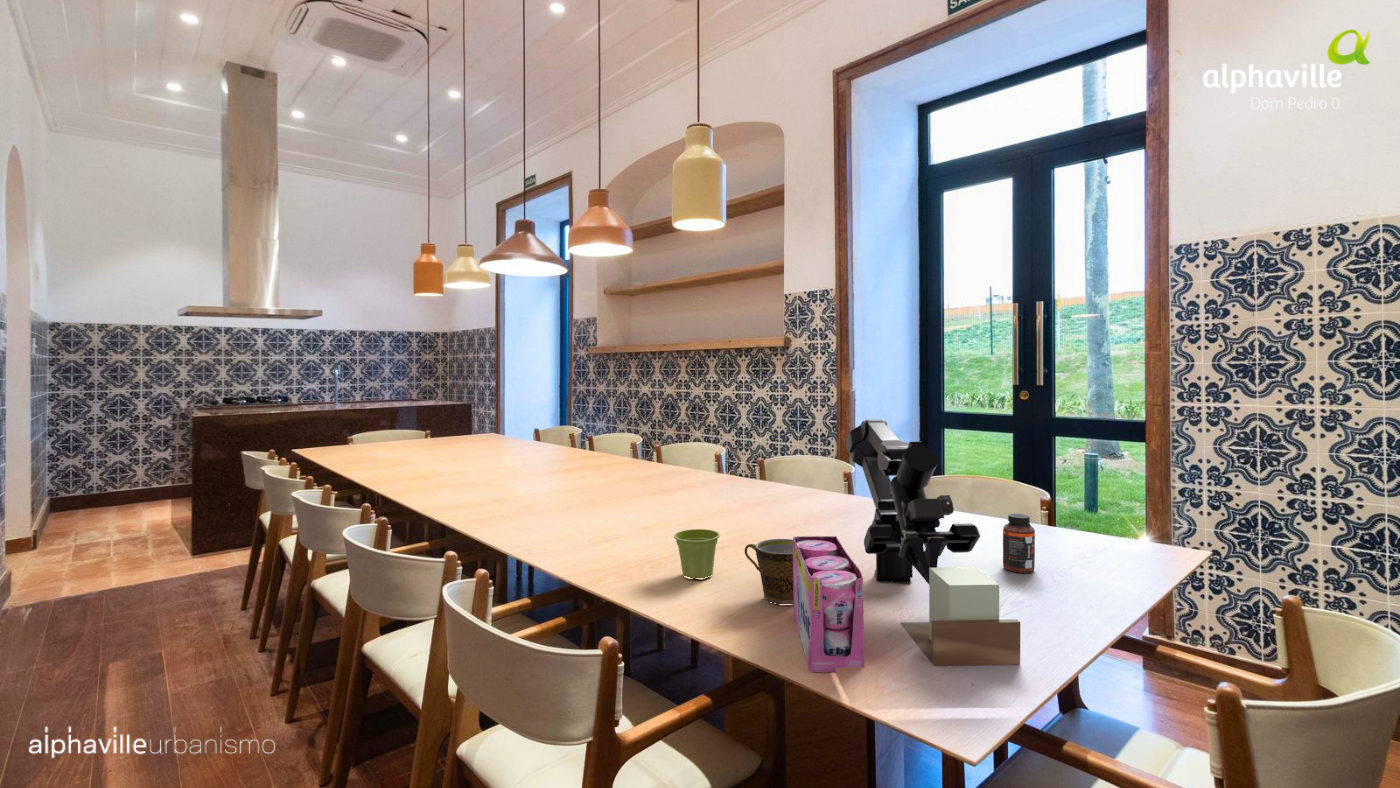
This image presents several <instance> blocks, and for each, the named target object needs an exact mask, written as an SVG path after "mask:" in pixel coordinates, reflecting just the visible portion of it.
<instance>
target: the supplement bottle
mask: <svg viewBox="0 0 1400 788" xmlns="http://www.w3.org/2000/svg"><path fill="white" fill-rule="evenodd" d="M1007 518H1008V519H1007V522H1008V523H1006V524H1005V525H1004V526H1003V528H1002V567H1003V568H1004V569H1005V570H1007V571H1008V572H1009V571H1010V572H1013V573H1021V574H1029V572H1030V573H1032V572H1034V571H1035V567H1036V565H1035V564H1036V560H1035V557H1036V556H1035V555H1036V553H1035V552H1036V546H1035V545H1036V533H1035V532H1036V530H1035V529H1034V527H1033V526H1032V525H1031V517H1030V516H1029V515H1027V514H1022V513H1009V514H1008V515H1007Z"/></svg>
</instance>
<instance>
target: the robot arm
mask: <svg viewBox="0 0 1400 788" xmlns="http://www.w3.org/2000/svg"><path fill="white" fill-rule="evenodd" d="M845 445H846V446H845V447H846V451H847V453H849V456H850V459H851V460H852V462H854V463H855V464H856V465H858V466H860V467H861V468H862V471H863V475H864V476H865V479H866V482H867V486H868V488H869V491H870V494H871V499H872V501H873V503H874V507H875V511H874V516H873V520H872V521H871V522H872V523H871V524H870V525H869V526H868V527H867V530H866V533H865V536H864V539H863V546H864V550H865V553H866V554H868V555H871V554H872V555H874V554H875V570H874V574H875V579H876V582H878V583H879V582H880V583H895V584H896V583H897V584H898V583H899V584H911V583H912V578H913V567H914V569H915V570H916V571H917V572H918V573H919V574H920V576H921V577H922V579H924V580H925V583H927V584H928V585H929V568H938V561H939V557H940V556H941V555H942V554H943V552H944V550H945V548H946V549H947V550H948V551H950V552H952V553H953V554H954V553H958V554H959V553H970V552H971V551H972V550H973V549H974V547H975V546H976V544H977V542H978V541H979V540H980V538H981V533H980V531H979V528H978V526H976V524H974V523H971V522H970V523H952V525H951V526H950V528H949V530H948V531H937V530H936V528H939V527H940V525H941V521H940V520H941V519H944V518H945V516H950V515H951V514H953V513H954V510H955V509H954V503H953V500H952V498H951V495H950V494H944V495H943V494H940V495H939V496H937V497H936V498H928V497H927V495H926V492H925V488H926V487H927V486H928V485H929V484H930V481H931V479H932V477H933V475H934V472H935V470H936V467H937V466H938V462H939V461H938V460H939V459H938V456H937V454H936V453H935V452H934V451H933V450H931V449H930V448H928V447H926V446H924V445H923V444H922V441H920V440H919V441H918V440H917V441H916V440H915V441H914V440H913V441H911V440H910V441H909V442H907V441H903V440H900V439H899V438H898V437H897V435H895V433H894V432H893V431H892V430H891V429H890V427H888V422H887V420H883V419H865V420H862V421H861V423H860V425H858V426H855V428H853V429H852V430H850V431H849V433H848V435H847V437H846V442H845ZM890 476H891V477H893V478H892V479H891V478H890ZM924 549H925V550H924Z"/></svg>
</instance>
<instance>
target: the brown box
mask: <svg viewBox="0 0 1400 788" xmlns="http://www.w3.org/2000/svg"><path fill="white" fill-rule="evenodd" d="M900 625H901V626H902V627H903V628H904V630H905V631H906V632H907V634H908V635H909V636H910V637H911V638H912V640H913V641H914V642H915V643H916V645H917V646H918V647H919V649H920V650H921V651H922V652H923V654H924V656H926V658H927V659H928V660H929V661H930V663H931V664H932V665H933V666H934V667H938V666H940V667H941V666H944V667H945V666H950V667H951V666H952V667H953V666H1002V665H1006V666H1009V665H1011V666H1012V665H1017V666H1018V665H1021V621H1019V619H1016V618H1014V619H999V620H942V621H932V641H931V640H930V639H929V621H917V622H916V621H913V622H910V621H909V622H900Z"/></svg>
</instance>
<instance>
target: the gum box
mask: <svg viewBox="0 0 1400 788" xmlns="http://www.w3.org/2000/svg"><path fill="white" fill-rule="evenodd" d="M792 540H793V593H794V595H793V597H794V605H793V615H795V616H794V619H796V620H795V623H797V624H796V626H798V627H797V629H798V630H799V631H798V635H799V634H800V635H799V637H800V638H799V639H800V640H801V645H802V648H803V651H804V656H805V660H806V662H807V666H808V669H809V672H811V673H812V672H813V673H837V671H836V670H835V668H840V669H841V668H842V669H843V668H847V669H848V668H850V669H851V668H853V669H854V668H865V626H864V625H865V623H864V622H865V620H864V618H865V615H864V612H865V611H864V580H863V579H864V577H863V574H862V572H861V570H860V568H859V567H858V566H857V565H856V563H855V562H854V560H853V559H852V558H851V557H850V555H849V554H848V552H847V551H846V549H845V548H844V546H843V545H842V543H841V542H840V540H839V539H838V537H837V536H835V535H834V536H831V535H830V536H829V535H827V536H825V535H823V536H821V535H820V536H818V535H817V536H815V535H814V536H813V535H812V536H811V535H810V536H807V535H806V536H793V538H792Z"/></svg>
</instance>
